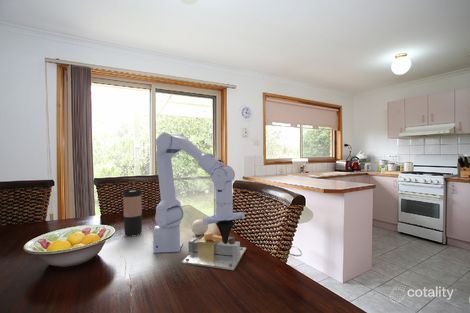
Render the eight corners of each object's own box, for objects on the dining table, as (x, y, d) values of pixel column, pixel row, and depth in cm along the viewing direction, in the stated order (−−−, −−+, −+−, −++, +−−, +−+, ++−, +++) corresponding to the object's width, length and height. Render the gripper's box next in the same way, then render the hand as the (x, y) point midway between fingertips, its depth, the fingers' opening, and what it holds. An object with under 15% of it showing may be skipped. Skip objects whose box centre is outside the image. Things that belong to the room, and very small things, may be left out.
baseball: (205, 237, 98) (205, 222, 98) (189, 237, 99) (189, 221, 99) (210, 232, 104) (209, 218, 104) (195, 231, 106) (194, 217, 106)
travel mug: (120, 235, 103) (119, 191, 103) (133, 230, 110) (132, 188, 110) (133, 237, 100) (132, 192, 100) (145, 232, 107) (145, 189, 107)
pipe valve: (187, 253, 81) (187, 240, 81) (194, 247, 87) (194, 235, 87) (236, 258, 76) (236, 245, 76) (240, 251, 82) (240, 239, 82)
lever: (202, 239, 81) (202, 233, 81) (207, 236, 84) (207, 231, 84) (231, 245, 75) (231, 239, 75) (236, 242, 78) (236, 236, 78)
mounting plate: (181, 263, 75) (181, 260, 75) (201, 244, 90) (201, 242, 90) (233, 270, 70) (233, 267, 70) (246, 249, 85) (246, 246, 85)
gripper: (208, 207, 70) (209, 251, 69) (248, 201, 76) (249, 242, 76) (200, 203, 76) (201, 244, 76) (238, 198, 83) (239, 236, 82)
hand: (225, 242), depth 76 cm, fingers closed
